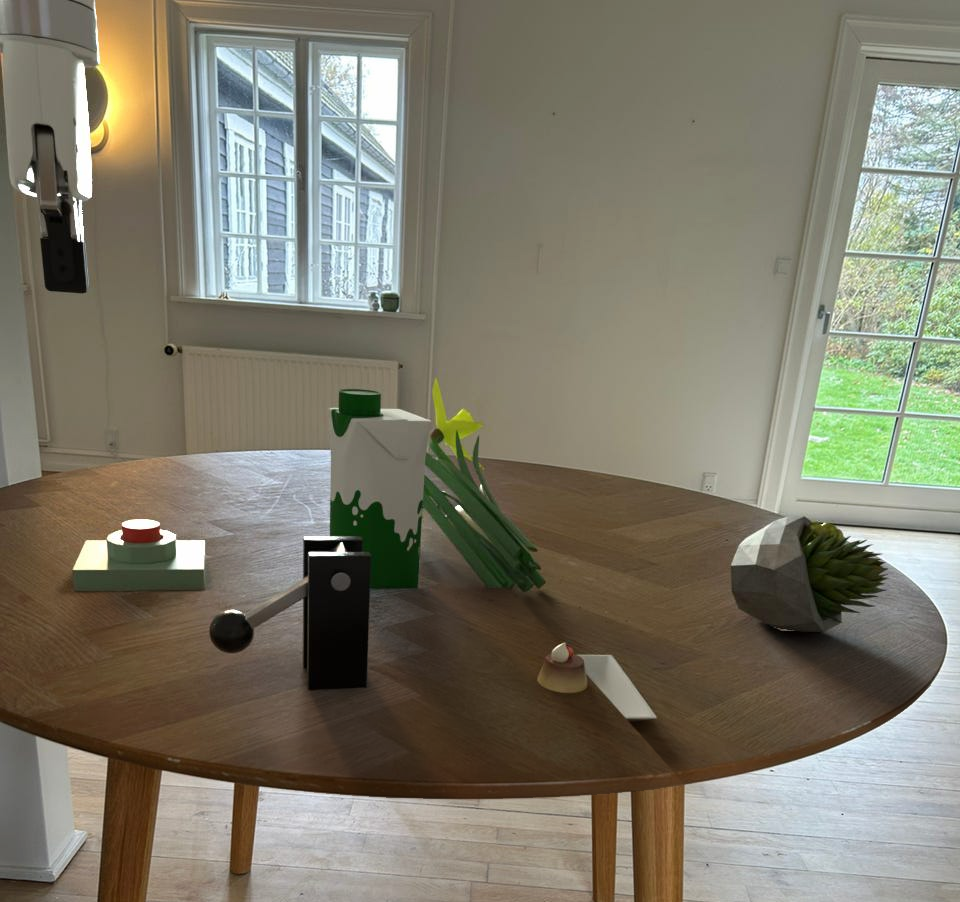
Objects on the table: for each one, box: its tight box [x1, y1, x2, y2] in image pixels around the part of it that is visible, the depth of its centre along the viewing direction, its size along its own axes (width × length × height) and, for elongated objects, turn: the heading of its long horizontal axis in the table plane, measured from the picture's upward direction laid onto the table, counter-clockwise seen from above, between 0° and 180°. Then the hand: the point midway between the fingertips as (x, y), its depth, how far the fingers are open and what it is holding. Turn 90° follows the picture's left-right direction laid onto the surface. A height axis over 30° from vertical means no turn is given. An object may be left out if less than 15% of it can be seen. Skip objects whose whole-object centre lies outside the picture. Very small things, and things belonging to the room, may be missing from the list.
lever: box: [208, 543, 348, 654], centre depth 65 cm, size 12×3×3 cm
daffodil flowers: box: [422, 376, 547, 593], centre depth 105 cm, size 17×15×35 cm
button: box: [121, 518, 161, 543], centre depth 89 cm, size 4×4×2 cm
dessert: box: [536, 638, 658, 723], centre depth 71 cm, size 12×12×5 cm
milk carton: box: [327, 388, 432, 590], centre depth 89 cm, size 9×9×20 cm
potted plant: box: [730, 515, 890, 633], centre depth 89 cm, size 12×13×15 cm
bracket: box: [302, 535, 371, 691], centre depth 67 cm, size 12×9×12 cm
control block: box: [71, 529, 207, 592], centre depth 90 cm, size 12×10×4 cm
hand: (67, 291), depth 74 cm, fingers closed
